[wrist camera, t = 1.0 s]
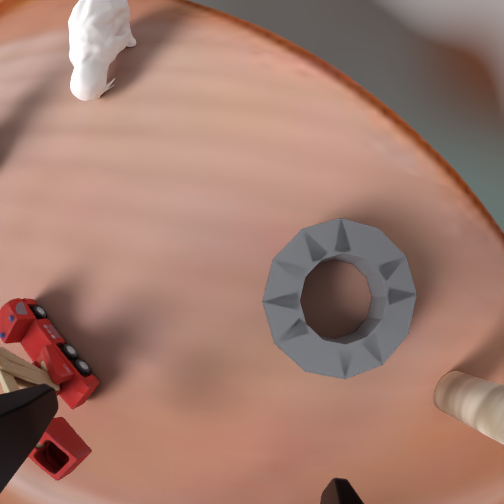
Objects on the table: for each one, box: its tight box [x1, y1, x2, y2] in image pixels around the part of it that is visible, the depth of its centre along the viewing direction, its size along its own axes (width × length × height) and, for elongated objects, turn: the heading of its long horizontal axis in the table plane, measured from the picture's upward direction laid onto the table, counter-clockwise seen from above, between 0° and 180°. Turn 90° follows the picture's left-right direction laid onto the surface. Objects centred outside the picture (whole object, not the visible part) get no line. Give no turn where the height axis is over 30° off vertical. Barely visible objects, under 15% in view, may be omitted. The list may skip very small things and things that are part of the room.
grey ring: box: [262, 218, 417, 379], centre depth 20 cm, size 10×10×3 cm
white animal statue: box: [68, 0, 136, 101], centre depth 22 cm, size 6×8×12 cm
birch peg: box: [434, 371, 504, 445], centre depth 14 cm, size 4×4×13 cm
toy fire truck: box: [0, 298, 100, 480], centre depth 17 cm, size 3×14×10 cm, turn 49°
